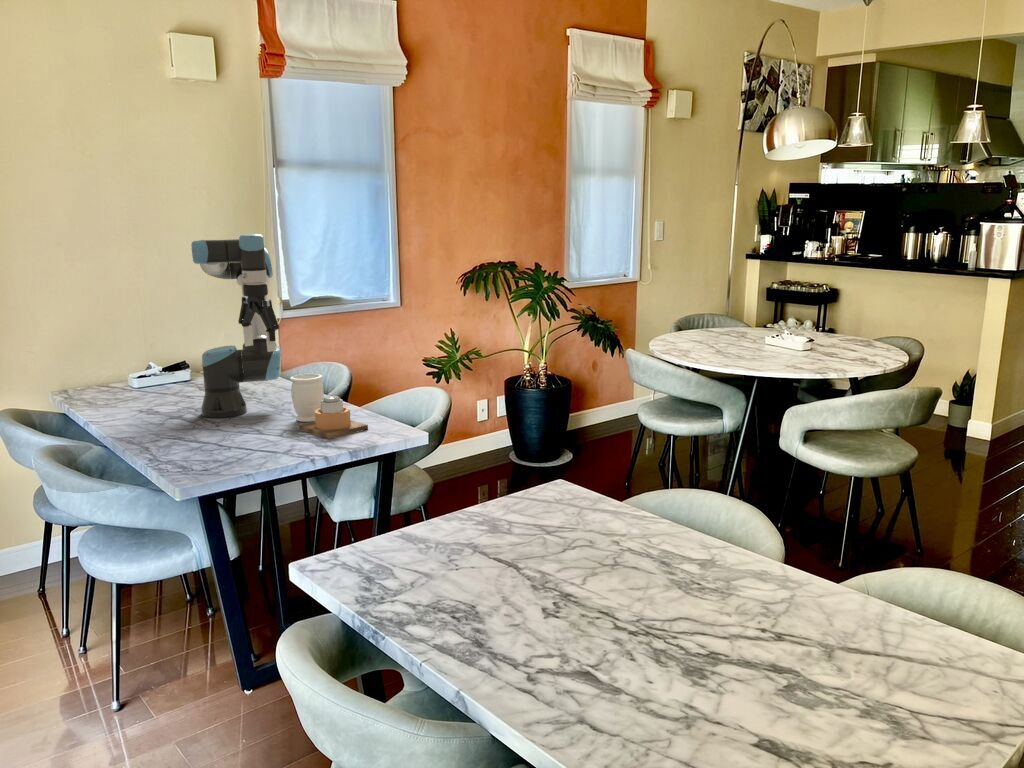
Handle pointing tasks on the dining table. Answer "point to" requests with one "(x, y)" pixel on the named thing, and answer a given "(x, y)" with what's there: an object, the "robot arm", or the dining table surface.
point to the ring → (332, 419)
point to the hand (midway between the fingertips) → (260, 348)
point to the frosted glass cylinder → (331, 405)
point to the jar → (306, 395)
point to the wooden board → (333, 432)
